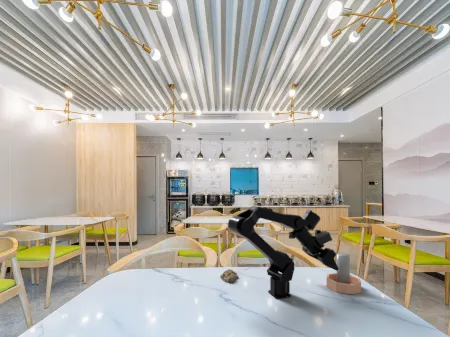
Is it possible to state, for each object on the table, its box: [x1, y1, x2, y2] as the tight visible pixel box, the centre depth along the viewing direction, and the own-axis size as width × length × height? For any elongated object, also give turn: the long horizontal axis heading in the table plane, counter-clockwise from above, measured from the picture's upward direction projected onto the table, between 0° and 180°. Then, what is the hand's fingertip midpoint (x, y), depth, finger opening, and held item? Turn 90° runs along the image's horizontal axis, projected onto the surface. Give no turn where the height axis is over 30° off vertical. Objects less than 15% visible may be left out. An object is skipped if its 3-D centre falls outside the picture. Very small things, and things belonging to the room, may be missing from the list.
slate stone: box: [335, 252, 351, 284], centre depth 103 cm, size 5×5×12 cm
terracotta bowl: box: [326, 272, 362, 295], centre depth 103 cm, size 13×13×4 cm
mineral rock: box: [219, 269, 239, 284], centre depth 111 cm, size 11×4×8 cm
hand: (331, 266), depth 103 cm, fingers open, 9 cm apart
